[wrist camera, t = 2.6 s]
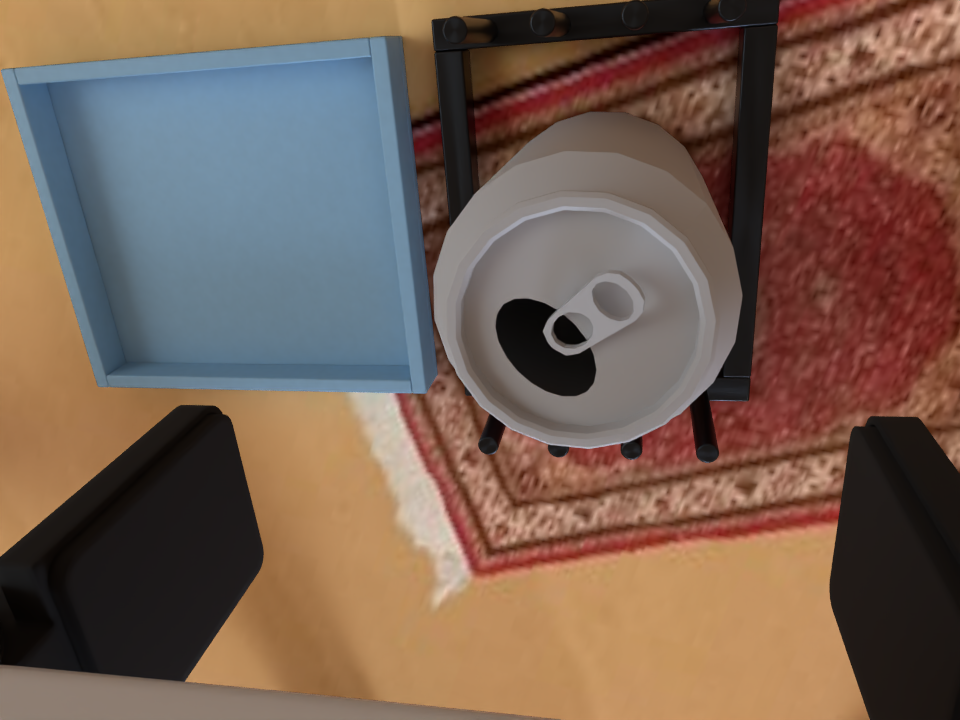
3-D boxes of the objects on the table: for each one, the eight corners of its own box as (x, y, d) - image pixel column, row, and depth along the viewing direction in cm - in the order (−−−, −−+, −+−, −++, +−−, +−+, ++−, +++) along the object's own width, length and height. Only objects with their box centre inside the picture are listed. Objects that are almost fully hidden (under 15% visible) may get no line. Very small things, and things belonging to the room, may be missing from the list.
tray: (402, 35, 26) (385, 35, 24) (438, 374, 31) (426, 394, 29) (36, 67, 29) (-1, 69, 27) (124, 370, 34) (97, 387, 33)
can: (461, 208, 28) (350, 315, 17) (612, 60, 25) (590, 79, 14) (591, 347, 29) (563, 528, 19) (750, 222, 26) (827, 352, 15)
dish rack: (774, -10, 23) (815, -24, 18) (744, 388, 29) (769, 469, 23) (439, 20, 26) (385, 16, 20) (471, 383, 31) (435, 456, 26)
